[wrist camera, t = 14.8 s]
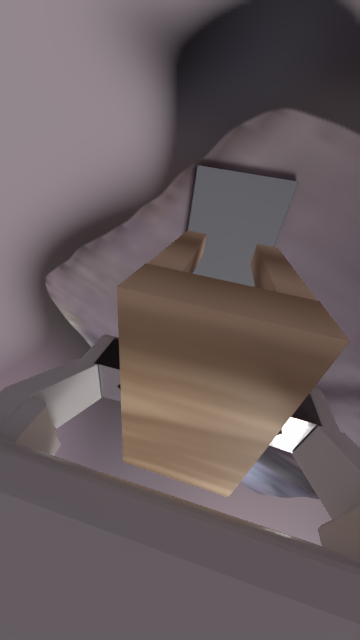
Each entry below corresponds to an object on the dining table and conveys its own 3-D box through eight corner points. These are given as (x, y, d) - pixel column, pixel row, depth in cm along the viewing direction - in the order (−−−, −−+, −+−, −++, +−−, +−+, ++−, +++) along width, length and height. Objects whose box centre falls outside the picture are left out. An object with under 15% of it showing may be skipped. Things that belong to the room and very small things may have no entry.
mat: (248, 306, 31) (249, 309, 31) (179, 290, 33) (178, 292, 32) (296, 181, 23) (298, 181, 22) (198, 165, 24) (197, 165, 23)
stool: (227, 497, 10) (350, 341, 5) (123, 462, 11) (117, 286, 5) (231, 367, 17) (278, 247, 12) (169, 350, 18) (187, 229, 13)
